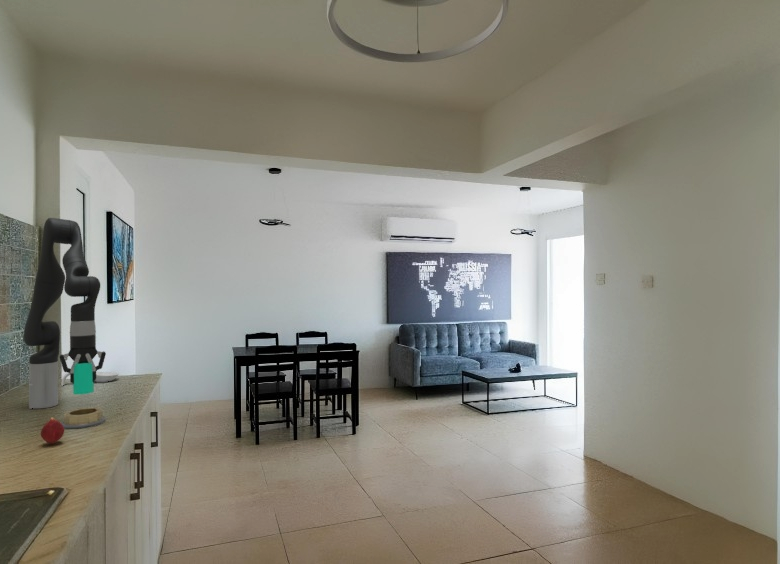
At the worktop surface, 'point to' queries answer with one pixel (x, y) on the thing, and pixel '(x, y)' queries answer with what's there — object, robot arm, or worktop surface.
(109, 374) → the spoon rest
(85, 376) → the candle
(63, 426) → the dish
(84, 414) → the collar
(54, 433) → the onion
